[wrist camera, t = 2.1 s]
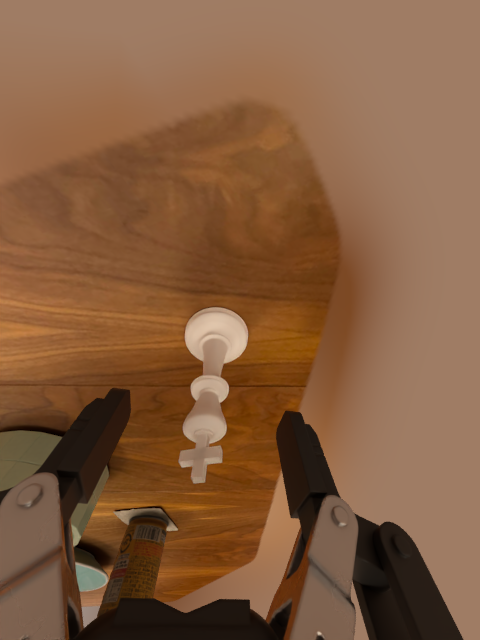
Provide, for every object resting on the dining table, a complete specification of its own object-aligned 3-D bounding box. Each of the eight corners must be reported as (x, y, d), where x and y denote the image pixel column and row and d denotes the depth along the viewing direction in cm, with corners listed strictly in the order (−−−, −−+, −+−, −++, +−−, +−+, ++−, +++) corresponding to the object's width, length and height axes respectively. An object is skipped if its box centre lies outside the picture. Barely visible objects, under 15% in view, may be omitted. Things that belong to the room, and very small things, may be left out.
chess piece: (252, 354, 18) (270, 502, 9) (195, 363, 18) (158, 514, 9) (242, 301, 15) (253, 432, 7) (177, 313, 16) (104, 451, 7)
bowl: (-46, 432, 22) (-136, 505, 16) (77, 418, 21) (25, 489, 16) (32, 492, 28) (-15, 559, 23) (128, 483, 27) (103, 549, 22)
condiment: (136, 532, 35) (94, 672, 25) (113, 510, 31) (51, 667, 21) (178, 528, 35) (154, 668, 24) (161, 505, 31) (123, 662, 20)
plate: (29, 575, 45) (17, 597, 42) (-50, 536, 34) (-72, 562, 32) (131, 568, 44) (125, 590, 42) (84, 526, 34) (72, 552, 31)
